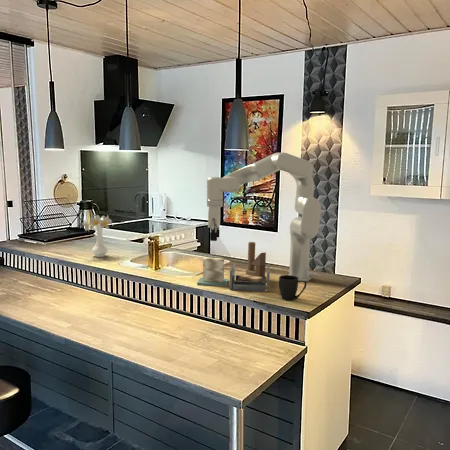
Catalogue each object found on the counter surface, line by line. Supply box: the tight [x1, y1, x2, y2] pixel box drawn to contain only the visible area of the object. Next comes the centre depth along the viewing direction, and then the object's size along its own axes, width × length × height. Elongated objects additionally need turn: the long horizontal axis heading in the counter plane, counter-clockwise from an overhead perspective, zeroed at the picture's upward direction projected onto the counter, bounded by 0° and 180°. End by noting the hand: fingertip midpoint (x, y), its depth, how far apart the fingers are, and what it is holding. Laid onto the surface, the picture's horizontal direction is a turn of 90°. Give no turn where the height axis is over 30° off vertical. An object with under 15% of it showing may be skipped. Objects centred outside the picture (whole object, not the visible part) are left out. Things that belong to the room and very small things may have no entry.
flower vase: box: [81, 214, 114, 258], centre depth 267 cm, size 13×18×25 cm
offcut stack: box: [237, 273, 263, 282], centre depth 216 cm, size 12×5×4 cm, turn 58°
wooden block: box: [245, 241, 267, 277], centre depth 226 cm, size 4×11×18 cm, turn 39°
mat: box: [196, 277, 229, 287], centre depth 216 cm, size 14×10×1 cm
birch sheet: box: [202, 257, 225, 282], centre depth 215 cm, size 10×2×11 cm, turn 85°
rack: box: [229, 261, 271, 293], centre depth 212 cm, size 18×18×9 cm
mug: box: [278, 274, 308, 302], centre depth 192 cm, size 8×12×10 cm
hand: (214, 238), depth 213 cm, fingers open, 9 cm apart
